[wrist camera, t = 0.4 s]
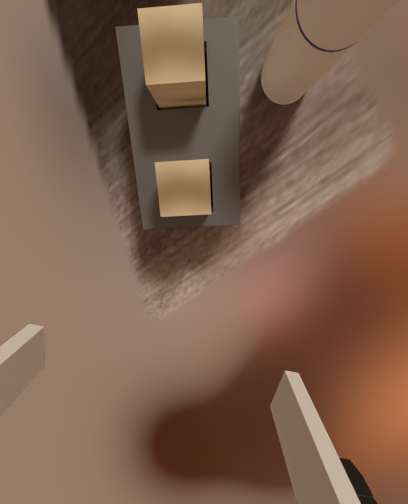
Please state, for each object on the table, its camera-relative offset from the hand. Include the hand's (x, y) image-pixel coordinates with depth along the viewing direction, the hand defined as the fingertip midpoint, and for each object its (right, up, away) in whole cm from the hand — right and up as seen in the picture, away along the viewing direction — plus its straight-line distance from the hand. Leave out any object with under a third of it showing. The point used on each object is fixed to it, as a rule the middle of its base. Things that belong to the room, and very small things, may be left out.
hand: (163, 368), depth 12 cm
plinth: (0, +22, +21) cm, 31 cm away
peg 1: (0, +25, +13) cm, 28 cm away
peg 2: (0, +15, +16) cm, 22 cm away
